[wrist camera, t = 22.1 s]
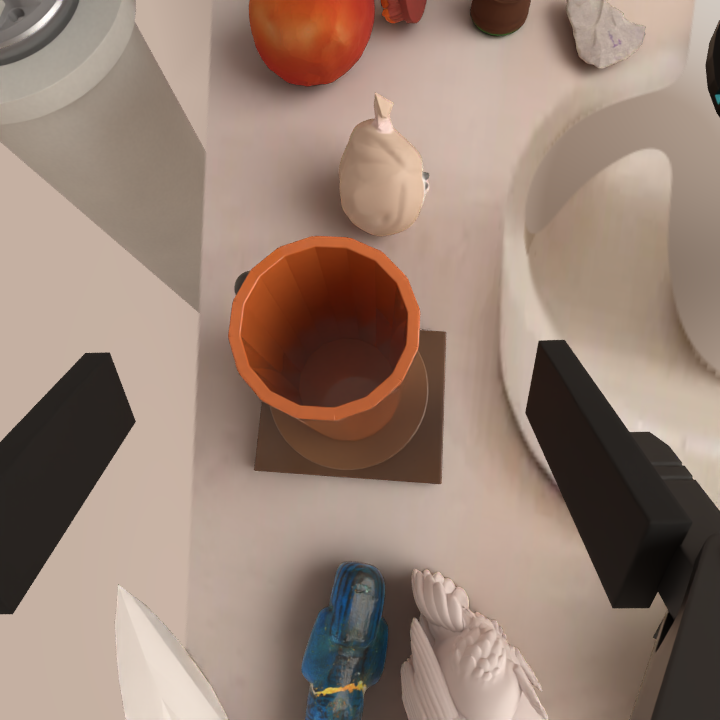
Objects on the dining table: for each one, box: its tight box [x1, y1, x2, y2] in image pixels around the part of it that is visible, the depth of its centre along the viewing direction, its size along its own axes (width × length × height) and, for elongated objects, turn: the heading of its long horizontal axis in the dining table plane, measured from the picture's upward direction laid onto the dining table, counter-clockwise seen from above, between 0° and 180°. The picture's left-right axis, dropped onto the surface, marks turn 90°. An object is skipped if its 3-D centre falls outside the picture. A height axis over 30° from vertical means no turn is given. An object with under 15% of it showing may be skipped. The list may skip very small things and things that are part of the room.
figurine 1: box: [301, 561, 388, 720], centre depth 27 cm, size 5×4×15 cm
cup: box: [228, 236, 420, 441], centre depth 21 cm, size 6×6×12 cm
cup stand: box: [234, 271, 446, 484], centre depth 27 cm, size 10×12×11 cm
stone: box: [566, 0, 646, 68], centre depth 37 cm, size 6×8×2 cm
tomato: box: [249, 0, 375, 86], centre depth 35 cm, size 9×9×8 cm
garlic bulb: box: [339, 92, 429, 237], centre depth 32 cm, size 7×6×8 cm
